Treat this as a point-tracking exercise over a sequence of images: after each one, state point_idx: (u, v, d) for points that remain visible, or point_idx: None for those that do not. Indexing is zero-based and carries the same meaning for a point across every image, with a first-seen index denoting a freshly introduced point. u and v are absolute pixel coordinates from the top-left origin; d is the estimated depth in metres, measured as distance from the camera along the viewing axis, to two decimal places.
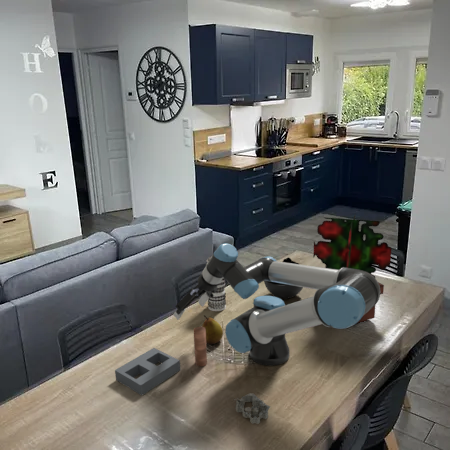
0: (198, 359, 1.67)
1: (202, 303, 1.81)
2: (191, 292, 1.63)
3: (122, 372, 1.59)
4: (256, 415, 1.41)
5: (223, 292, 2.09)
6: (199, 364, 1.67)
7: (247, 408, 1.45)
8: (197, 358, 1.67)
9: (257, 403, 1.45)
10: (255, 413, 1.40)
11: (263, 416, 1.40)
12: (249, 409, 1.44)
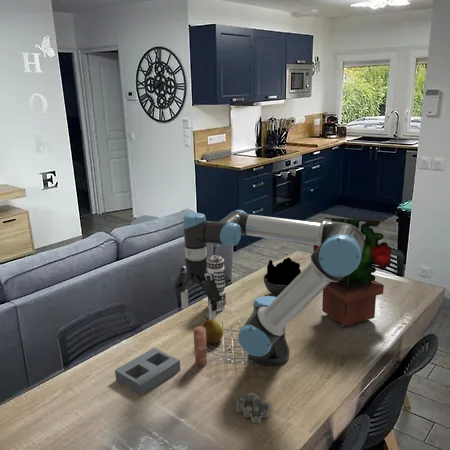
0: (198, 359, 1.67)
1: (187, 303, 1.68)
2: (210, 277, 1.55)
3: (122, 372, 1.59)
4: (257, 414, 1.41)
5: (223, 292, 2.09)
6: (199, 364, 1.67)
7: (247, 407, 1.45)
8: (197, 358, 1.67)
9: (257, 402, 1.45)
10: (256, 412, 1.41)
11: (264, 415, 1.41)
12: (250, 408, 1.44)
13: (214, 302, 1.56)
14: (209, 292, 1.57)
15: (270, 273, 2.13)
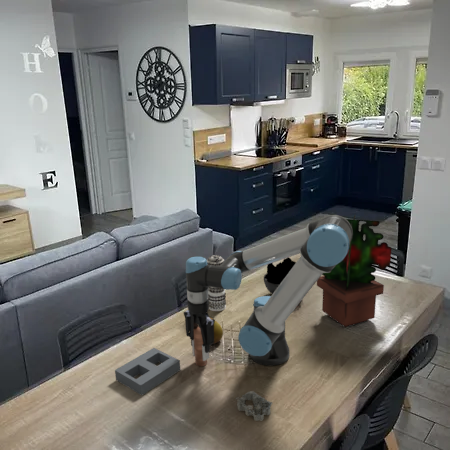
0: (198, 358, 1.67)
1: None
2: (211, 323, 1.60)
3: (122, 372, 1.59)
4: (259, 412, 1.42)
5: (223, 292, 2.09)
6: (199, 364, 1.67)
7: (248, 406, 1.46)
8: (197, 358, 1.67)
9: (258, 400, 1.46)
10: (258, 410, 1.42)
11: (266, 413, 1.42)
12: (250, 407, 1.45)
13: (206, 345, 1.64)
14: (205, 335, 1.64)
15: (270, 273, 2.13)
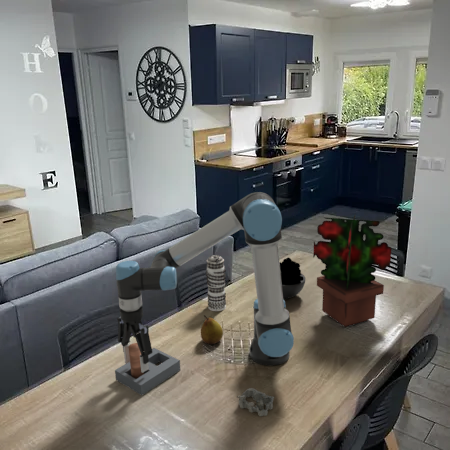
0: (134, 377, 1.57)
1: None
2: (145, 331, 1.49)
3: (122, 372, 1.59)
4: (262, 408, 1.44)
5: (223, 292, 2.09)
6: None
7: (250, 403, 1.47)
8: (133, 377, 1.57)
9: (258, 396, 1.48)
10: (261, 406, 1.43)
11: (268, 407, 1.44)
12: (252, 403, 1.47)
13: (145, 355, 1.52)
14: (142, 345, 1.52)
15: None
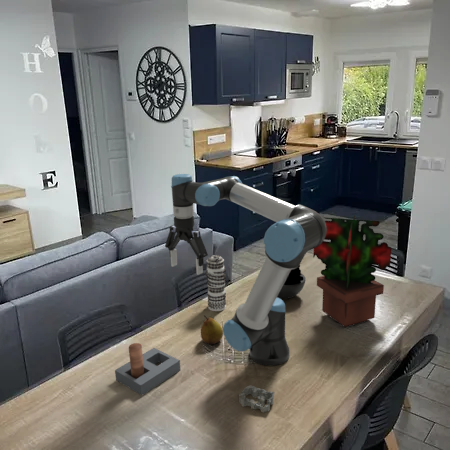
0: (134, 377, 1.57)
1: (176, 261, 1.79)
2: (197, 234, 1.66)
3: (122, 372, 1.59)
4: (263, 404, 1.46)
5: (223, 292, 2.09)
6: None
7: None
8: (133, 377, 1.57)
9: (258, 393, 1.50)
10: (262, 402, 1.45)
11: (270, 403, 1.46)
12: (252, 401, 1.48)
13: (201, 257, 1.67)
14: (196, 248, 1.67)
15: None
